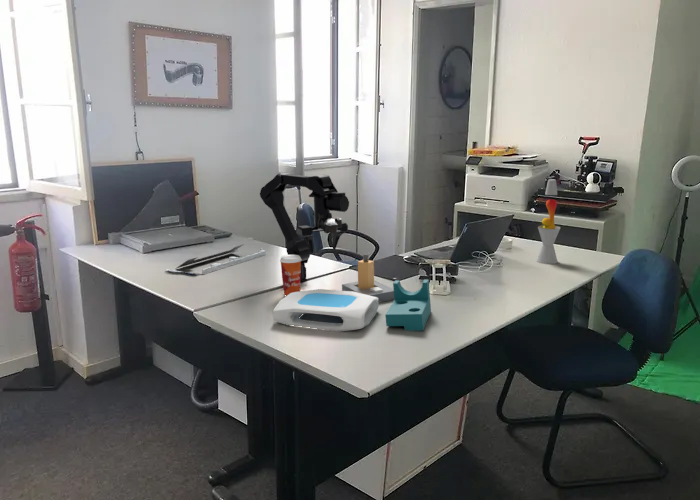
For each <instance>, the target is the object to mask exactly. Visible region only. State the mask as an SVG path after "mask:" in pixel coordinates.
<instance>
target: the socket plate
mask: <svg viewBox="0 0 700 500" xmlns="http://www.w3.org/2000/svg"><path fill="white" fill-rule="evenodd" d="M341 291H353V292H357V293H361V294H365V295H369V296H373V297H377V298H378V303H381V302H387V301H394V300H395V299H394V288H393V287H390V286H388V285H386V284H384V283H381V282H380V281H378V280H375V279H374V288H369V289H363V290H362V289H360V288H358V281H355V282H348V283H341Z"/></svg>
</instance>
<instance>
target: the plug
mask: <svg viewBox="0 0 700 500" xmlns="http://www.w3.org/2000/svg"><path fill="white" fill-rule="evenodd" d="M362 256H363V258H362V260H358V261H357V282H358V288H360V289H362V290H363V289H369V288H374V280H375V262H374V260H370V259H369V254H368V253H364V254H363V255H362Z"/></svg>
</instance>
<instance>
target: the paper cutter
mask: <svg viewBox="0 0 700 500" xmlns="http://www.w3.org/2000/svg"><path fill="white" fill-rule="evenodd" d="M243 246H244V244H241V245H233V248H231V249H229V250H226V251H222V252H219V253H216V254H211V255H208V256H204V257H201V258H199V257H198V256H197V257H195V258H190V259H187V260H186V261H184V262H183V263H182V264H180V265H179V266H177V267H176V268H175V269H172V268H171V269H170V268H166V270H167V271H169V272H176V273H183V271H181V270H176V269H179V268H182V267H186V266H190V265H194V264H196V263H200V262H204V261H207V260H210V259H215V258H217V257H221V256H223V255H224V256H225V255H228V254H231V253H236V252H238V251H239V249H240V248H242V247H243ZM266 255H267V250H264V249H263V247H260V248H259V251H258V252H256V253H252V254H248V255H245V256H243V257H242V256H241V257H238V256H229V258H228V261H225V262H223V263H220V262H219V263H218V262H216V263H215V262H214V263H212V264H210V266H209V267H206V268H203V269H201V273H198V272H192V273H191V274H192V275H207V274H210V273H213V272H216V271H219V270H223V269H225V268H229V267H232V266H235V265H238V264H241V263H244V262H247V261H250V260H254V259H257V258H260V257H263V256H266ZM186 273H188V274H189V272H187V271H186Z"/></svg>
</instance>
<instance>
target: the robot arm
mask: <svg viewBox="0 0 700 500" xmlns="http://www.w3.org/2000/svg"><path fill="white" fill-rule="evenodd" d="M287 186H293V187H294V186H295V187H303V188H307V189H308V190H309V191H312V192H311V193H310V194H308V197H309V198H313V212H312V215H313V217H314V222H313V223H312V226H313V227H312V226H309V225H297V228H295V226H294V224H293V223H292V220H291V217H290V216H289V214H288V212H287V209H286V208H285V205H284V198H285V195H284V192H285V190H286V189H287ZM259 197H260V198H261V200H262V201H263V204H264V205H265V206H267V207H268V208H269V209H271V211H272V213H273V215H274V218H275V220H276V222H277V224H278V227H279V228H280V231H281V233H282V235H283V236H284V239H285V241H286V253H287V254H286V255H299V256H300V257H301V259H302V260H301V274H300V282H305V281H308V278H307V267H306V264H308V262H309V258H310V256H311V254H313V253H314V245H313V244H314V243H313V238H314V235H313V233H318V232H324V233H325V234H330V233H331V243H332V244H331V245H332V250H333V251H336V249H337V246H338V243H339V240H340V238H341V236H342V235H343V234H345V233H346V232H348V231H349V225H348V224H347V222H344V221H342V218H341V217H335V218H333V214H332V212H339V213H341V212H343V213H346V212H347V211H348V209H349V206H350V201H349V198H348V197H347V196H346V192H339V191H338V189H337V188H336V186H335V184H334V183H333V181H332V179H331V177H330V175H329V174H319V175H311V176H308V175H302V174H300V175H299V174H292V173H286V172H284V173H277V174H276V175H275V176H274V177H273V178H272V179H271V180H270V181H268V182H267V183H266V184H265V185H264V186H262V187H261V188H260V192H259ZM331 211H332V212H331ZM299 236H300V237H302V238H303V239H302V238H300V237H299Z"/></svg>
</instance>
